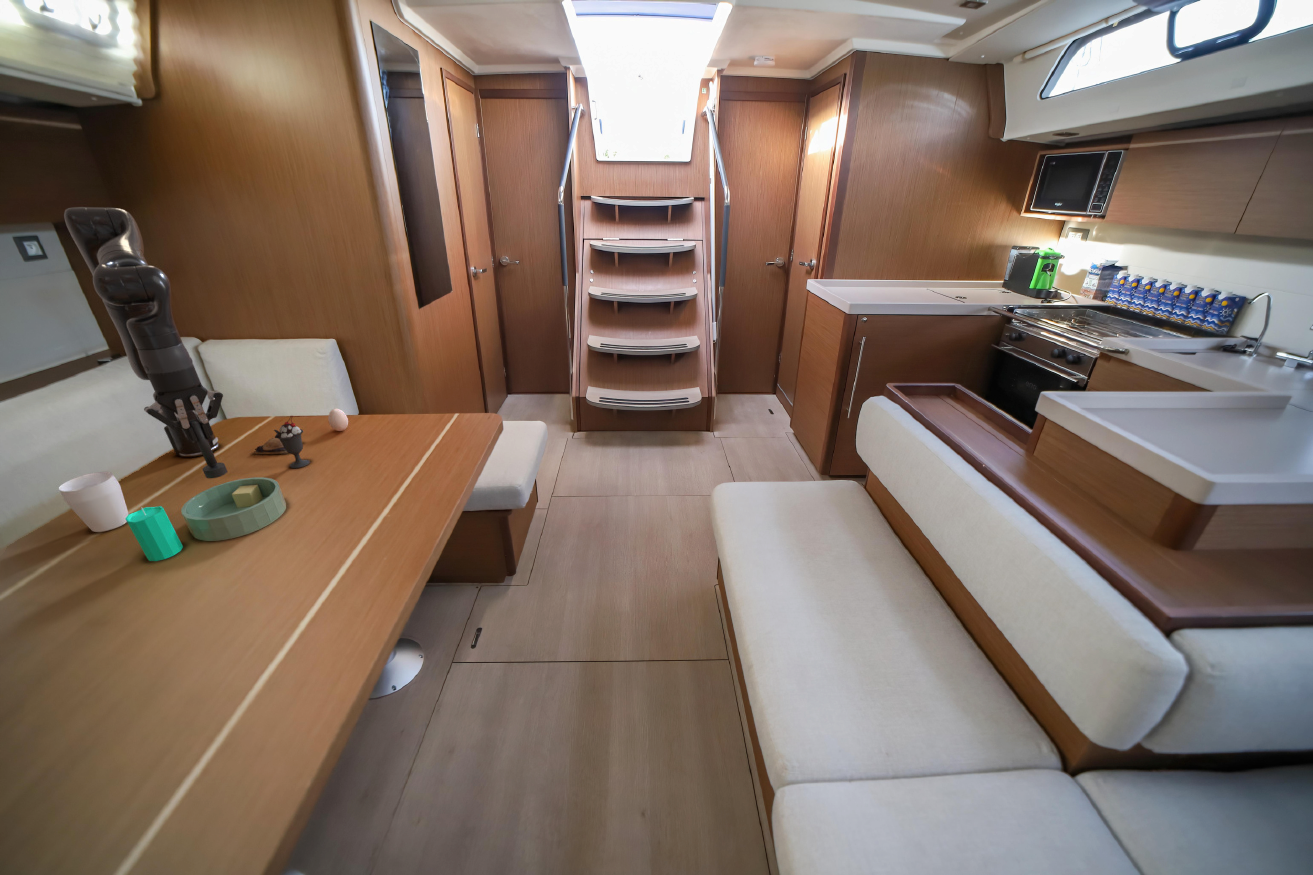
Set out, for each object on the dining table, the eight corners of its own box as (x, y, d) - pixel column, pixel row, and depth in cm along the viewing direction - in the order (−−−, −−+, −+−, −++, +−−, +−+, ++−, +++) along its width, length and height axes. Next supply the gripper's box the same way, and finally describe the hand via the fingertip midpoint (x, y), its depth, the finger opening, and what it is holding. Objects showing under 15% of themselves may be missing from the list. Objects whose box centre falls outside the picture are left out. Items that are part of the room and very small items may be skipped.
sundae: (318, 459, 150) (303, 413, 143) (302, 470, 144) (285, 423, 137) (298, 458, 150) (282, 412, 144) (280, 469, 144) (263, 422, 138)
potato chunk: (237, 507, 126) (231, 494, 124) (245, 499, 129) (240, 486, 127) (255, 506, 126) (249, 492, 125) (263, 497, 130) (257, 484, 128)
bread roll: (304, 442, 160) (301, 432, 158) (287, 454, 152) (283, 444, 151) (270, 442, 160) (266, 432, 158) (252, 454, 152) (247, 444, 150)
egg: (348, 433, 166) (341, 411, 163) (329, 435, 165) (322, 413, 161) (352, 426, 171) (346, 405, 167) (334, 428, 170) (327, 406, 166)
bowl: (171, 545, 113) (160, 523, 110) (221, 500, 130) (212, 480, 127) (262, 536, 116) (253, 515, 113) (299, 493, 133) (292, 474, 130)
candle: (189, 547, 113) (167, 502, 107) (158, 563, 107) (133, 517, 102) (171, 541, 114) (149, 497, 109) (140, 557, 109) (114, 512, 104)
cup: (144, 518, 122) (121, 476, 117) (95, 539, 115) (68, 495, 109) (125, 509, 125) (102, 468, 120) (76, 529, 118) (50, 486, 113)
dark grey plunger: (201, 479, 114) (176, 423, 108) (212, 470, 118) (188, 416, 112) (221, 477, 115) (197, 422, 109) (231, 469, 119) (208, 415, 112)
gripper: (203, 355, 112) (231, 425, 119) (119, 371, 102) (156, 446, 109) (215, 361, 108) (244, 433, 116) (130, 378, 98) (167, 456, 105)
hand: (201, 439), depth 112 cm, fingers closed on dark grey plunger, 2 cm apart
